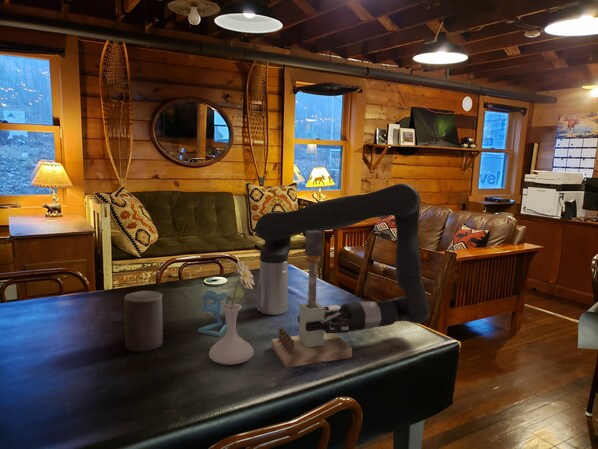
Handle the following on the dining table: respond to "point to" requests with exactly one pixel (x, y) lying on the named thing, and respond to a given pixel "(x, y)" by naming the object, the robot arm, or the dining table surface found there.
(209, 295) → the chair
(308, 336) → the square hollow tube
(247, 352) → the flower in vase
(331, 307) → the power adapter
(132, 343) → the pillar candle
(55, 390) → the dining table surface
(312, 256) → the post
